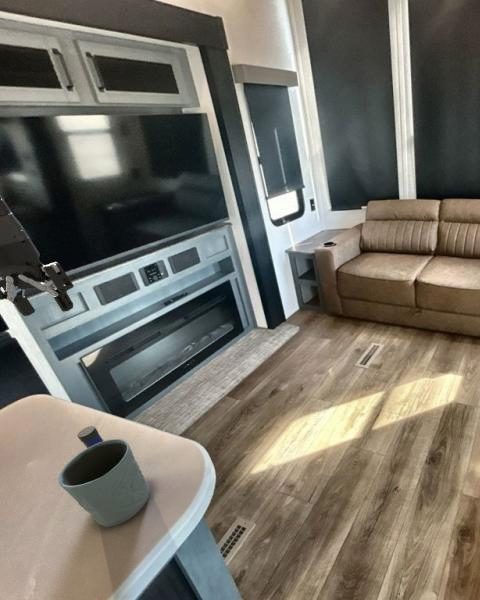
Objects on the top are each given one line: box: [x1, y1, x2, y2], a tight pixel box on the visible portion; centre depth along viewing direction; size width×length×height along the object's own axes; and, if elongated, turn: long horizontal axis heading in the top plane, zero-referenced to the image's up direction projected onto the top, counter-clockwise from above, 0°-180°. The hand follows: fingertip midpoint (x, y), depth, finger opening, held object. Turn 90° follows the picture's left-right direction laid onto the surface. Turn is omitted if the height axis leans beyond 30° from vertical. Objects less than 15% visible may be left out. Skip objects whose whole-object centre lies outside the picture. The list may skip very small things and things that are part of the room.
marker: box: [76, 425, 105, 449], centre depth 73 cm, size 3×3×12 cm
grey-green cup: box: [57, 438, 151, 528], centre depth 66 cm, size 10×10×12 cm
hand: (49, 312), depth 78 cm, fingers open, 8 cm apart
